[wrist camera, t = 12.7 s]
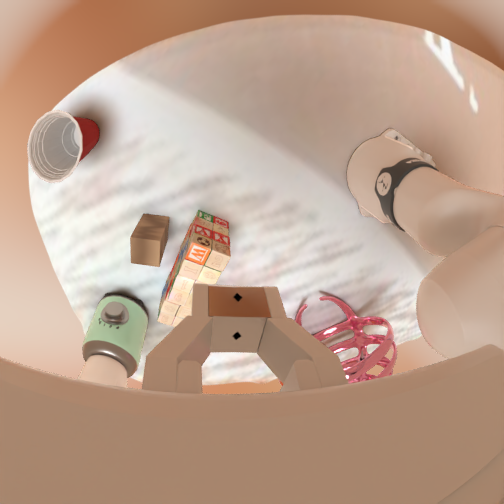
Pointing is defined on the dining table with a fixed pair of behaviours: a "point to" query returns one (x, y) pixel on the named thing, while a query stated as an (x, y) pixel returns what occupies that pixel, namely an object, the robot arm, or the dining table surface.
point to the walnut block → (149, 240)
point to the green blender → (114, 341)
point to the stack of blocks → (195, 266)
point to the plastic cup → (60, 144)
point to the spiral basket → (359, 343)
